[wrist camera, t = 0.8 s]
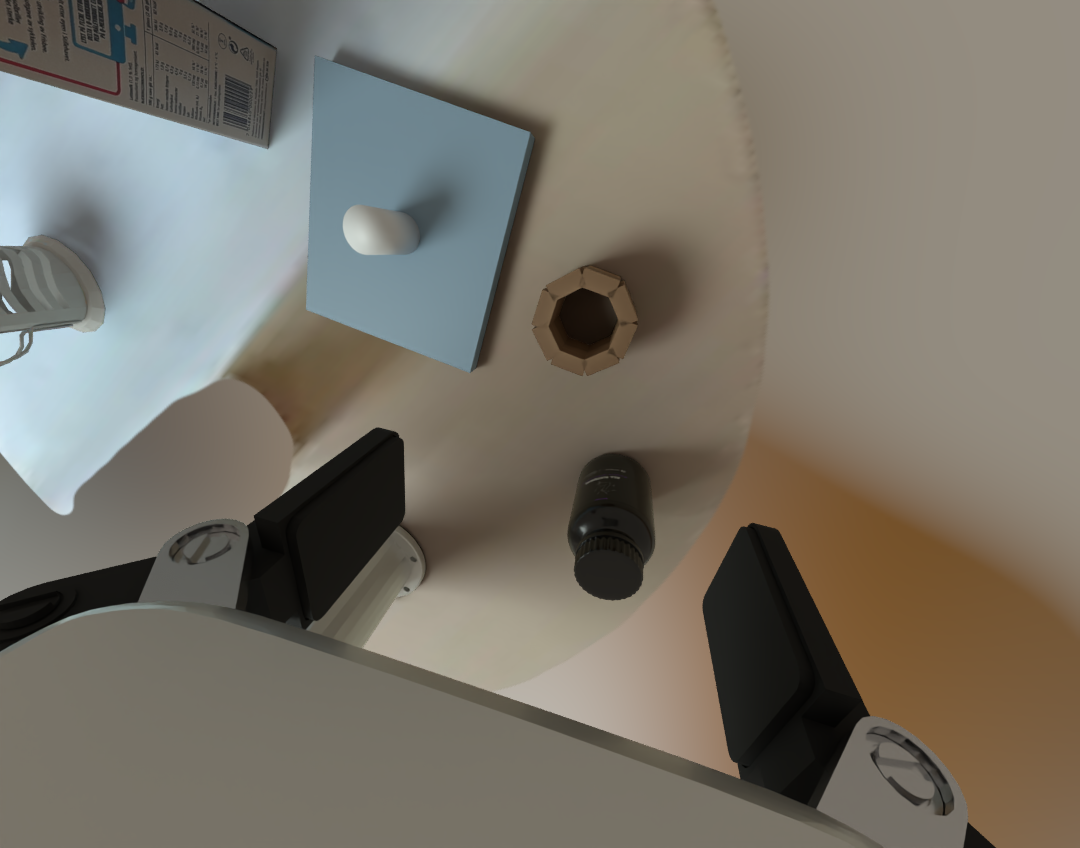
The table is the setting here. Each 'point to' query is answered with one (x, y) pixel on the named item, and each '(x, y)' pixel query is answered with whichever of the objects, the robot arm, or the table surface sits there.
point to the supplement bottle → (612, 527)
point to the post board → (408, 213)
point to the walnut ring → (572, 351)
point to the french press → (47, 291)
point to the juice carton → (146, 60)
